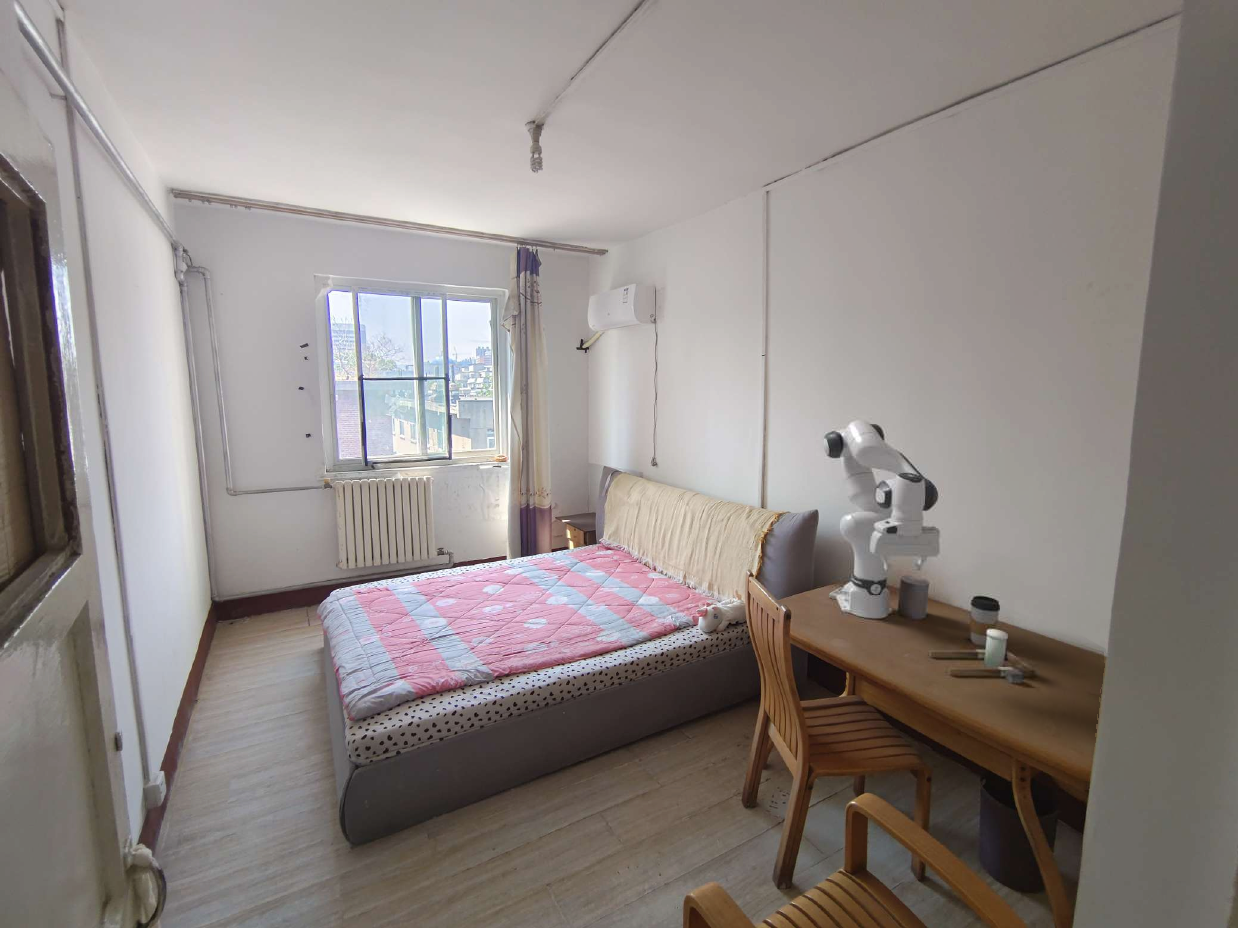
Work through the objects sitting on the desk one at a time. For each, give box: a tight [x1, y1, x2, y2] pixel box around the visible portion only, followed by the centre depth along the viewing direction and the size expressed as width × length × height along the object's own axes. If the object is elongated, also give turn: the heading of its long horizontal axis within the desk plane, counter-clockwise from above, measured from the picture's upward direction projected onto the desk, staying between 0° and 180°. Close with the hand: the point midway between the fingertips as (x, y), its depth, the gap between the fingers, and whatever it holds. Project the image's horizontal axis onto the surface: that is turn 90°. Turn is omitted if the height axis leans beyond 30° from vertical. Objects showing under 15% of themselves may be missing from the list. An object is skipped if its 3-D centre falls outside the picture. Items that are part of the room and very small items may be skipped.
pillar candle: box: [896, 574, 930, 620], centre depth 214 cm, size 10×10×15 cm
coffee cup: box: [969, 595, 1001, 647], centre depth 191 cm, size 8×8×15 cm
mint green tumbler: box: [983, 628, 1009, 667], centre depth 176 cm, size 5×5×11 cm
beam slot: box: [927, 649, 1036, 684], centre depth 174 cm, size 16×25×3 cm, turn 89°
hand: (902, 569), depth 177 cm, fingers open, 8 cm apart
